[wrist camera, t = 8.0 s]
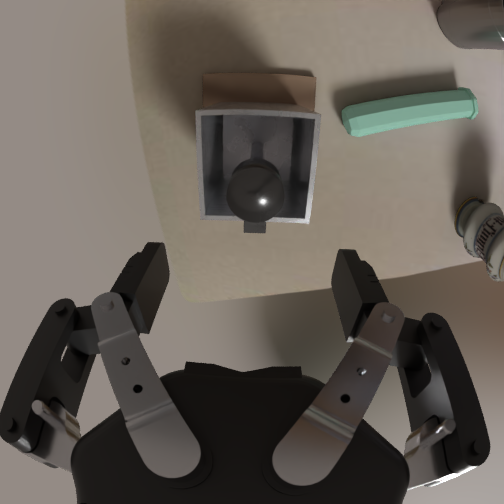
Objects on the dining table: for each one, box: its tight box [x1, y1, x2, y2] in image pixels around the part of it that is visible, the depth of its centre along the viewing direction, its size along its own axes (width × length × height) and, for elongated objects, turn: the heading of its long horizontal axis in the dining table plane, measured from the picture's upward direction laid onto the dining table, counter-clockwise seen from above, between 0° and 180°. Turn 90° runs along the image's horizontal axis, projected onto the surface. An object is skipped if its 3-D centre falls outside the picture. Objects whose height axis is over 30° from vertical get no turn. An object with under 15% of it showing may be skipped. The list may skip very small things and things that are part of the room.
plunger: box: [223, 115, 293, 223], centre depth 26 cm, size 8×8×17 cm
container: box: [342, 87, 478, 137], centre depth 32 cm, size 6×6×25 cm
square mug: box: [195, 102, 321, 233], centre depth 32 cm, size 14×11×16 cm
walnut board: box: [203, 73, 316, 111], centre depth 38 cm, size 20×16×1 cm
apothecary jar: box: [455, 197, 504, 281], centre depth 36 cm, size 12×12×18 cm
